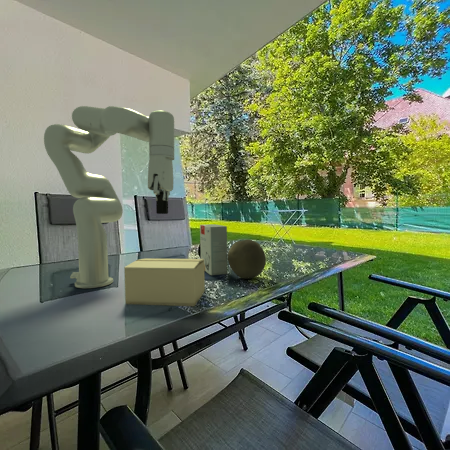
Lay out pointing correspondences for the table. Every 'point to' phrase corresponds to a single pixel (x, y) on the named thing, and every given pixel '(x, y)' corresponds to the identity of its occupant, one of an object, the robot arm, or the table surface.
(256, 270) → the cantaloupe
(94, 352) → the table surface
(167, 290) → the cardboard box
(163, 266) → the front flap
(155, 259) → the back flap
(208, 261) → the hard drive box
